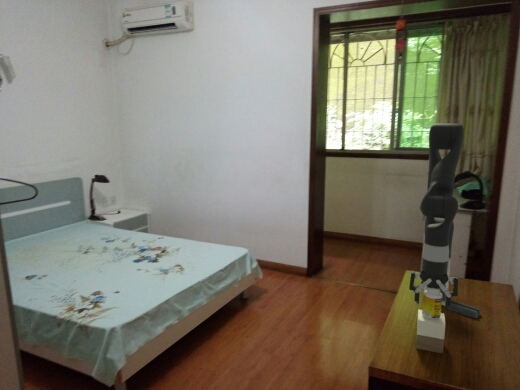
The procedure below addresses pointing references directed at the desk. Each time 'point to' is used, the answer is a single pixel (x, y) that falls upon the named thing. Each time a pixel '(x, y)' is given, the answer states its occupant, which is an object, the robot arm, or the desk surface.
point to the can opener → (461, 307)
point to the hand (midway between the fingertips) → (431, 304)
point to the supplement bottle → (432, 303)
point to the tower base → (429, 343)
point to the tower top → (431, 326)
